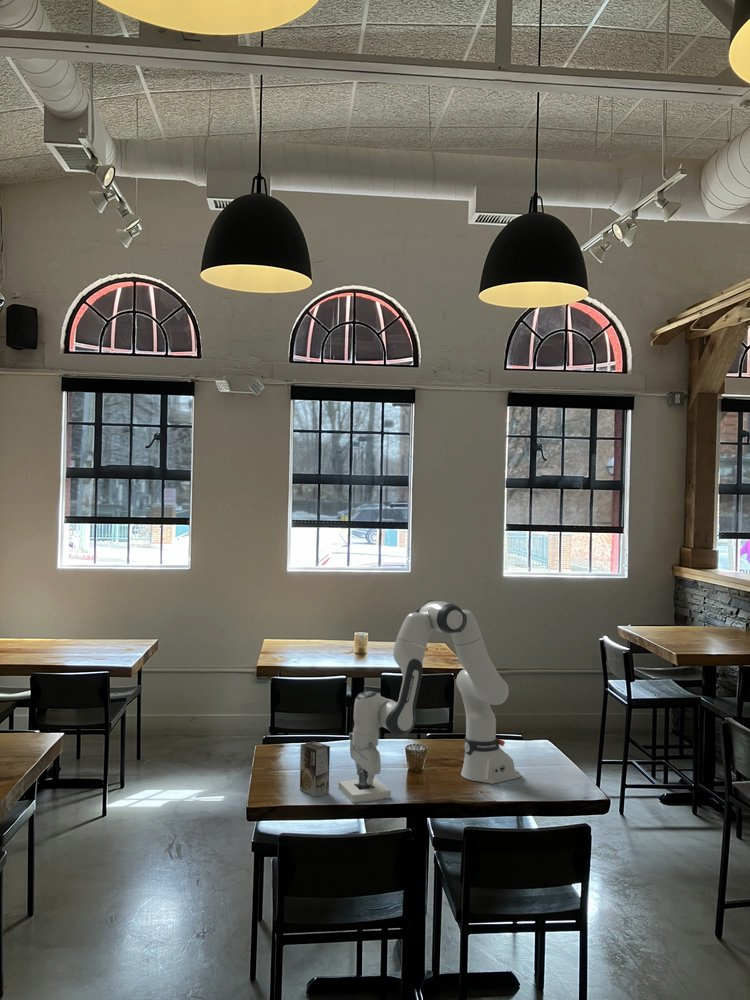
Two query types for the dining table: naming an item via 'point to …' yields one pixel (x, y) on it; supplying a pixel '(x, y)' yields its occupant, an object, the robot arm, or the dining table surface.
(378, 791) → the plate
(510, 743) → the dining table surface
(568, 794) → the dining table surface
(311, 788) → the coffee box
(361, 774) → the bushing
